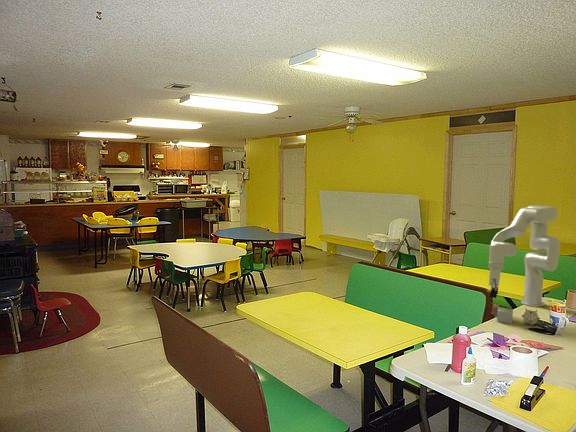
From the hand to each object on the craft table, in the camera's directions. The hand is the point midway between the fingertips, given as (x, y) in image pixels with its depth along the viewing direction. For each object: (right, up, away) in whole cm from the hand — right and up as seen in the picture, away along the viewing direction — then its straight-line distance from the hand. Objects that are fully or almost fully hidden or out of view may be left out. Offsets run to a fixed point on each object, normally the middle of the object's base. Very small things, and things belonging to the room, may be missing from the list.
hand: (493, 295), depth 236 cm
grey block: (+1, -12, -10) cm, 16 cm away
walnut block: (0, -11, +1) cm, 11 cm away
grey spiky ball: (+11, -13, -16) cm, 23 cm away
